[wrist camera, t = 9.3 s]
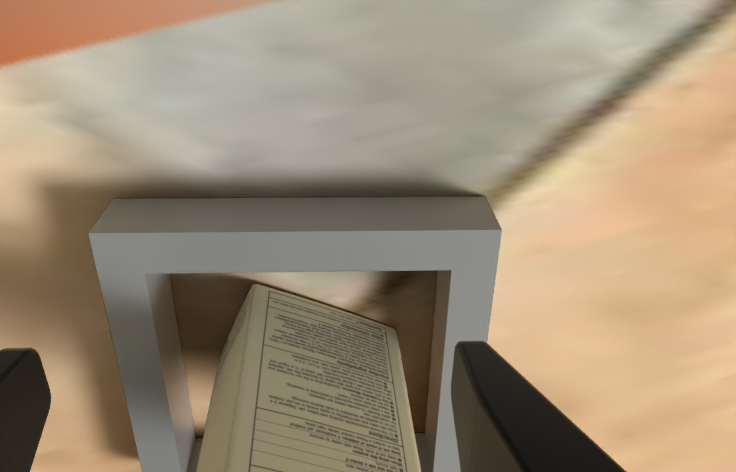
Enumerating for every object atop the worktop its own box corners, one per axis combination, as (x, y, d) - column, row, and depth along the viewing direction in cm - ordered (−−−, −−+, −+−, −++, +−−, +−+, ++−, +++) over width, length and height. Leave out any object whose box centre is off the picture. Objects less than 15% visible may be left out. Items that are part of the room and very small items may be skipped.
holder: (165, 463, 28) (151, 511, 26) (112, 198, 22) (88, 233, 20) (455, 456, 29) (465, 503, 27) (485, 196, 23) (501, 229, 20)
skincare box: (216, 360, 26) (130, 701, 15) (253, 276, 24) (185, 597, 13) (362, 405, 27) (378, 744, 16) (407, 329, 25) (459, 657, 15)
